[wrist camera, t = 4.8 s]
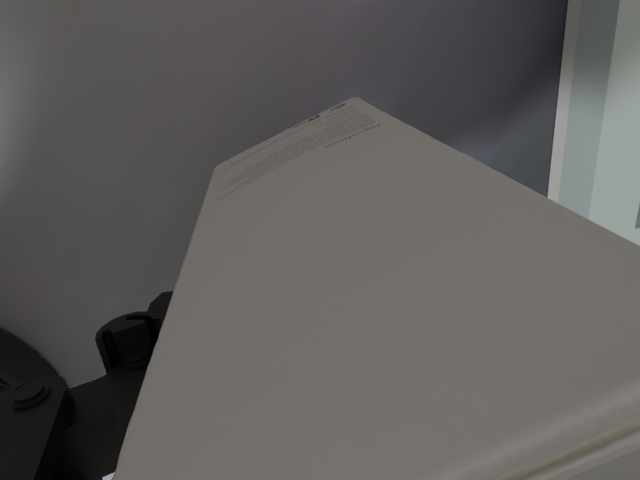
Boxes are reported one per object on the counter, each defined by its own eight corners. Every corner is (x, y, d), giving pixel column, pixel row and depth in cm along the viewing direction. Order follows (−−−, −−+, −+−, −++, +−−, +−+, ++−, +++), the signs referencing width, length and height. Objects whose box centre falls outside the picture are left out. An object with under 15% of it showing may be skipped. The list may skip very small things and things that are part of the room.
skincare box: (212, 162, 17) (-55, 678, 3) (368, 85, 17) (913, 276, 3) (305, 324, 21) (386, 937, 6) (438, 264, 20) (850, 783, 6)
